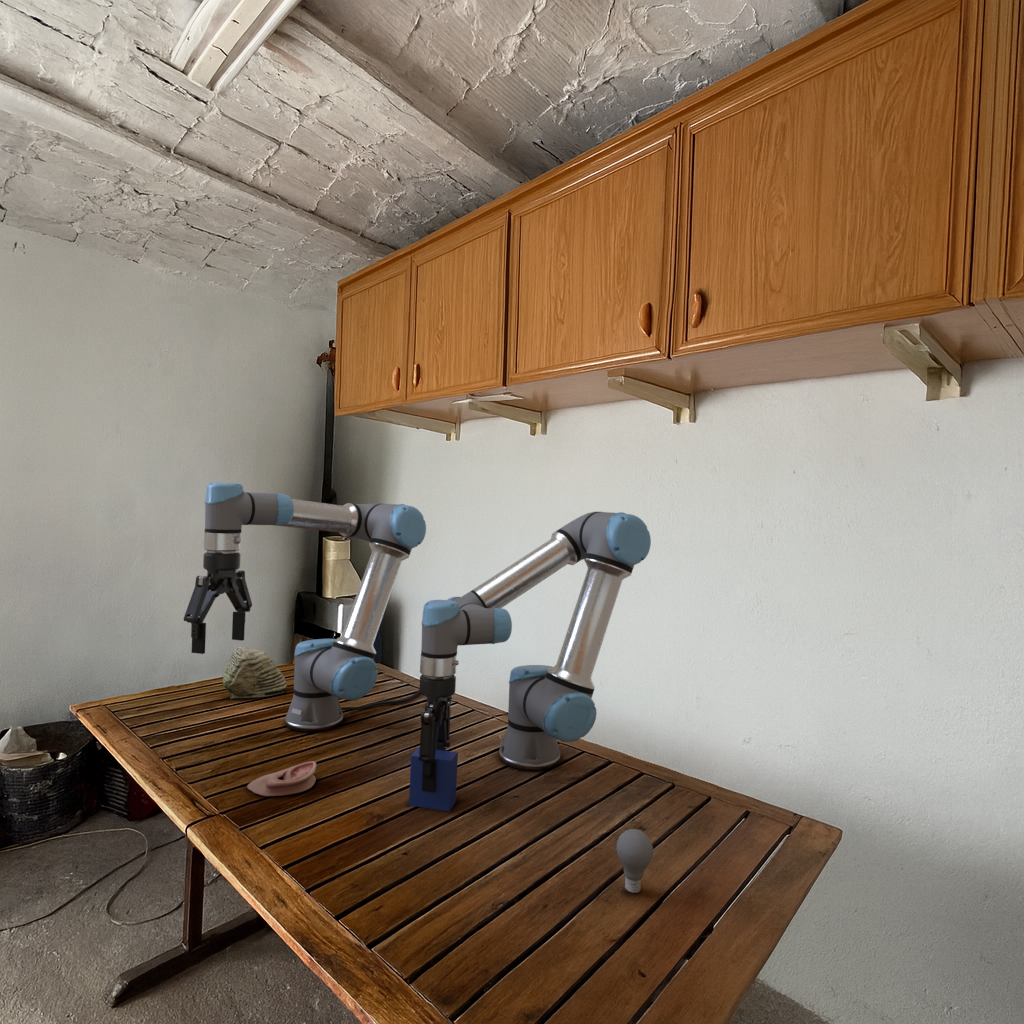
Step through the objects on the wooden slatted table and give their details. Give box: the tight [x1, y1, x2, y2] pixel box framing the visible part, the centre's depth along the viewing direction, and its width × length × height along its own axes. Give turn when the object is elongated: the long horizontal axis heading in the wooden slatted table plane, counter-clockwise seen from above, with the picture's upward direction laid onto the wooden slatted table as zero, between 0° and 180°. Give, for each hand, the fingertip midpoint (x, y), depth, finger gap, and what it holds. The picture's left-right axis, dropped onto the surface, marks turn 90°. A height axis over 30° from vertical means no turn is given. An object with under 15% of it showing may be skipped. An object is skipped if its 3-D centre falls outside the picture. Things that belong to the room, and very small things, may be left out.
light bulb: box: [615, 828, 654, 894], centre depth 106 cm, size 6×6×10 cm
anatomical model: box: [246, 760, 317, 797], centre depth 138 cm, size 13×4×12 cm
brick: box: [408, 746, 459, 812], centre depth 133 cm, size 9×5×11 cm, turn 78°
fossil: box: [222, 646, 288, 699], centre depth 198 cm, size 9×18×15 cm, turn 132°
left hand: (219, 646), depth 142 cm, fingers open, 13 cm apart
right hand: (433, 784), depth 133 cm, fingers open, 6 cm apart
